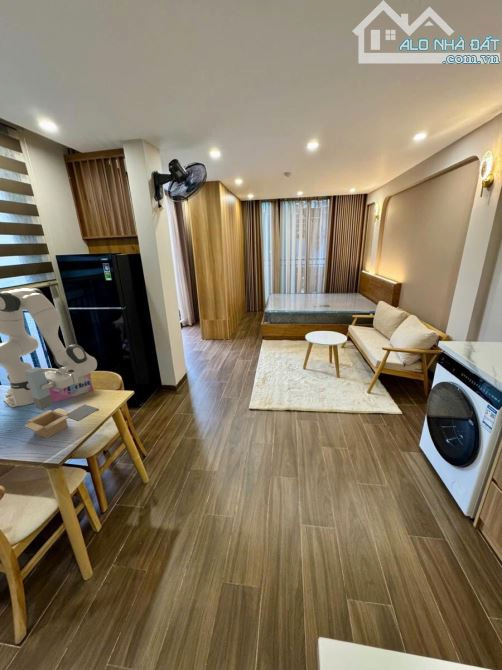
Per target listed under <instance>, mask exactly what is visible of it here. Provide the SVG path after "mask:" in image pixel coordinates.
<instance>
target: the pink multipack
mask: <svg viewBox="0 0 502 670" xmlns="http://www.w3.org/2000/svg"><path fill="white" fill-rule="evenodd" d="M91 376H92V375H91V373H89V374H87V375H85V376H81V377H79V378H78V383H76V384H73V385H71V386H68V387H66V388H62V389H59V388H56V387H50V388H49V391H50V395H51V398H52V402H53V404H55V403H59V402H61V401H64V400H66V399H70V398H72V397H76V396H79V395H82V394H85V393H88V392H91V391H93V390H94V387H93V383H92V378H91ZM90 390H91V391H90ZM87 391H88V392H87Z"/></svg>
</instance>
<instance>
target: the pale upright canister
mask: <svg viewBox="0 0 502 670" xmlns="http://www.w3.org/2000/svg"><path fill="white" fill-rule="evenodd" d="M32 368H33V369H30V370H27V371H25V373H26V377H27V380H28V383H29V387H30V390H31V393H32V396H33V400H34V403H33V404H34V406H35V409H36V410H37V409H38V410H41V411H44V410H46V409H48V408H50V407H52V406H54V403H53V402H52V398H51V395H50V391H49V388H46V389H43V390H42V389H40V386H41V385H43V384H44V385H45V384H47V380H46V377H45V373H44V372H45V370H44V368H42V367H37V366H36V367H32Z"/></svg>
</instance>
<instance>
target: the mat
mask: <svg viewBox="0 0 502 670" xmlns="http://www.w3.org/2000/svg"><path fill="white" fill-rule="evenodd" d="M99 409H100V408H98V407H94V406H92V405H88V404H86V403H85V404H82V405H81V406H79V407H77V408H75V409H73V410H71V411H70V412H71V413H70V414H68V415H66V416H68V417H69V418H68V419H72V420H74V421H77V422H79V421H81V420H84V418H86V417H88V416H89V415H91V414H93V413H95V412H97V411H99Z"/></svg>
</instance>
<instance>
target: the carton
mask: <svg viewBox="0 0 502 670" xmlns="http://www.w3.org/2000/svg"><path fill="white" fill-rule="evenodd" d="M70 413H71V411H68V410H66V409H62V408H58V407H57V408H56V409H53V410H51V409H48V410H46V411H43V412H42V413H39V414H38V415H36V416H34V417H32V418H30V419H27V422H29V423H27V424H24V425H23V426H24V427H25V428H28V429H29V430H31V431H33V432H34V434H36V435H37V436H38V435H39V436H40V437H42V438H45V439H48V438H50V437H52V436H54V435H55V434H57V433H58V432H59V433H60V431H62V430H64V429H66V428H68V427H69V426H68V421H67V419H70V418H69V417H68V416H66V415H68V414H70Z"/></svg>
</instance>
